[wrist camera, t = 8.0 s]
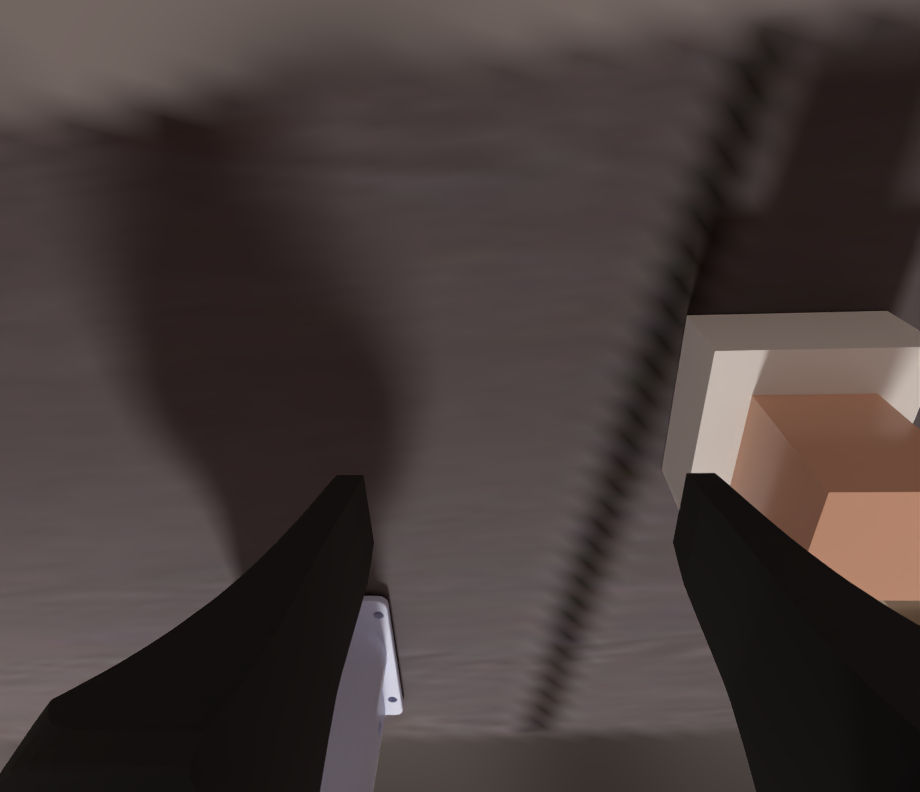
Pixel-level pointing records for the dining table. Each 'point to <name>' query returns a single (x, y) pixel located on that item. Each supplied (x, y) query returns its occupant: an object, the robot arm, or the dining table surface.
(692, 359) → the slab
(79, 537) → the dining table surface
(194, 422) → the dining table surface
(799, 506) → the terracotta block
